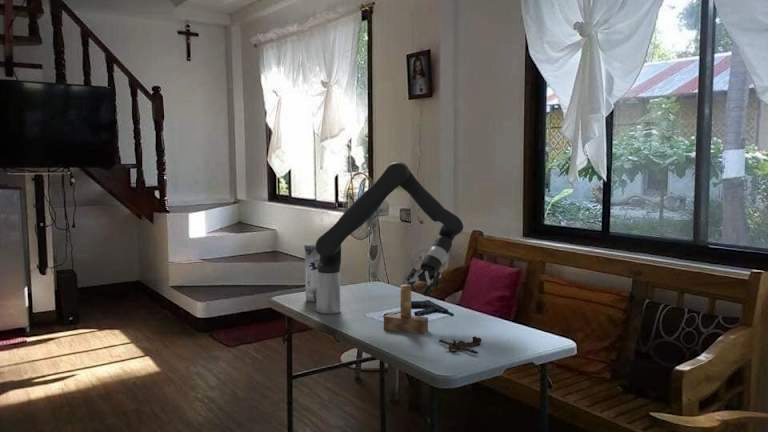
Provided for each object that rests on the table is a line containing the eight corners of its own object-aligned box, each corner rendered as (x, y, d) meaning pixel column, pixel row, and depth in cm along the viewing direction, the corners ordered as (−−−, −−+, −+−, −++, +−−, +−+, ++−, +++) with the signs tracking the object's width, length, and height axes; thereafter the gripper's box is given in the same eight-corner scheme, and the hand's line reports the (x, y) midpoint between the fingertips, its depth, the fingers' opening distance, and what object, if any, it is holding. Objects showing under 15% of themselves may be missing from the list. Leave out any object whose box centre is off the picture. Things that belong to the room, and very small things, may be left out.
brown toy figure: (497, 342, 207) (468, 346, 198) (496, 354, 208) (467, 359, 198) (459, 330, 221) (430, 334, 212) (458, 342, 222) (429, 346, 212)
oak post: (398, 317, 231) (398, 286, 230) (402, 315, 235) (402, 284, 234) (408, 318, 230) (408, 287, 229) (412, 316, 233) (412, 285, 232)
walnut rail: (383, 329, 233) (383, 316, 233) (388, 326, 238) (388, 313, 238) (423, 333, 227) (423, 320, 227) (427, 330, 232) (427, 317, 231)
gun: (423, 322, 248) (455, 317, 254) (423, 315, 247) (455, 311, 254) (397, 307, 269) (426, 303, 275) (397, 301, 269) (427, 297, 275)
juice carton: (302, 300, 281) (301, 242, 279) (319, 296, 289) (318, 239, 287) (316, 303, 276) (315, 243, 273) (332, 299, 283) (332, 241, 281)
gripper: (416, 252, 245) (397, 285, 238) (444, 256, 236) (425, 290, 228) (424, 263, 250) (406, 296, 242) (452, 267, 240) (434, 301, 233)
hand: (415, 293), depth 235 cm, fingers open, 8 cm apart
